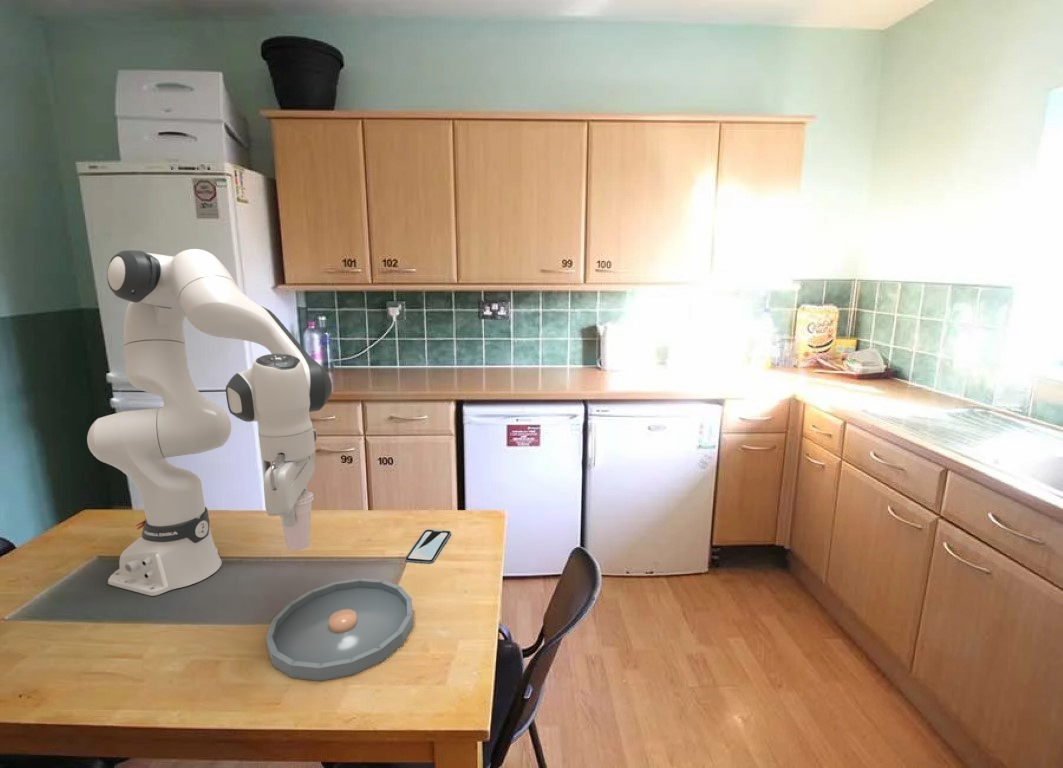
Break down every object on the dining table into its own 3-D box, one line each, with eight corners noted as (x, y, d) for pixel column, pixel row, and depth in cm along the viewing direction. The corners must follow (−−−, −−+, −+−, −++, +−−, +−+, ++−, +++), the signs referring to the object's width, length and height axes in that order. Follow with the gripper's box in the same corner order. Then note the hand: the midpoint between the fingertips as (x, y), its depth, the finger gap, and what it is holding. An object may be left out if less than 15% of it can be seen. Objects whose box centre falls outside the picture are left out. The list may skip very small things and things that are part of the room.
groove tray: (236, 671, 91) (234, 659, 91) (317, 585, 117) (315, 574, 116) (379, 687, 88) (378, 674, 87) (430, 593, 113) (430, 583, 112)
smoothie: (300, 555, 95) (295, 478, 93) (271, 552, 97) (265, 477, 95) (324, 541, 101) (318, 469, 100) (295, 538, 103) (290, 467, 101)
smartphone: (403, 560, 125) (425, 529, 140) (403, 564, 126) (425, 532, 140) (432, 562, 124) (452, 530, 139) (433, 566, 125) (452, 534, 139)
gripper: (291, 464, 86) (300, 542, 89) (318, 427, 106) (324, 492, 109) (249, 467, 85) (259, 545, 88) (284, 429, 105) (292, 495, 108)
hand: (295, 516), depth 98 cm, fingers closed on smoothie, 6 cm apart
